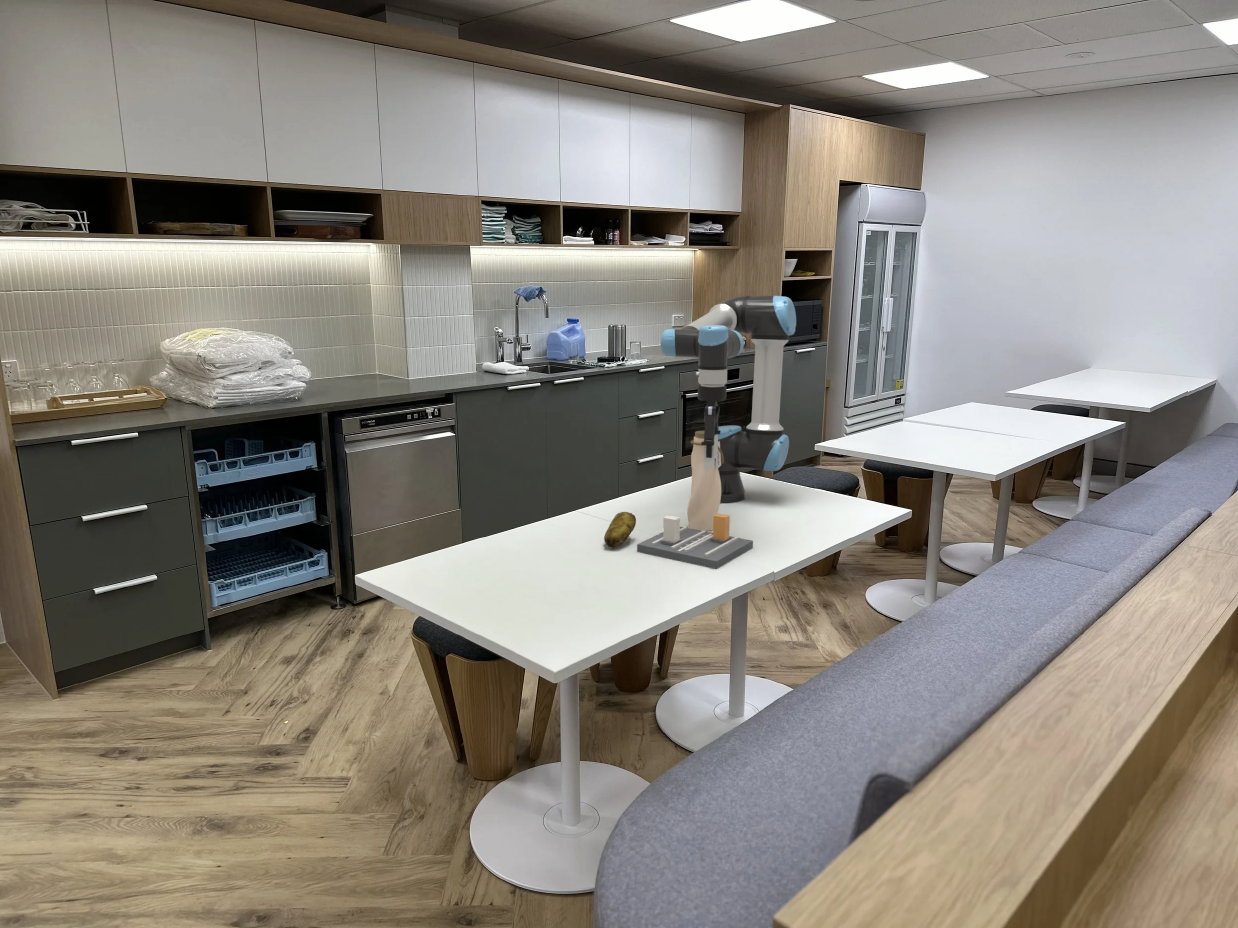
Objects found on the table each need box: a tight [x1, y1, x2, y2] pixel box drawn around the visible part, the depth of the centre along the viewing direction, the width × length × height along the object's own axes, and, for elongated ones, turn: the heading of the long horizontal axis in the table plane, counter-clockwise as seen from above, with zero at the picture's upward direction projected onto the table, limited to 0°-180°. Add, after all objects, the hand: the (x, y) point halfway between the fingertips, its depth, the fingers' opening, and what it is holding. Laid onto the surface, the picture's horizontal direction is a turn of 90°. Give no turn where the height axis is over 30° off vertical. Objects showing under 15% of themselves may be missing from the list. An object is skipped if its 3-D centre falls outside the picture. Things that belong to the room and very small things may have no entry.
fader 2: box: [711, 513, 731, 544], centre depth 230 cm, size 4×4×7 cm
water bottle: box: [686, 430, 724, 532], centre depth 247 cm, size 10×9×28 cm
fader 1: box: [661, 515, 682, 546], centre depth 228 cm, size 4×4×7 cm
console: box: [636, 526, 754, 570], centre depth 230 cm, size 20×24×3 cm
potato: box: [603, 511, 637, 549], centre depth 235 cm, size 8×13×8 cm, turn 138°
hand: (710, 463), depth 231 cm, fingers open, 13 cm apart
